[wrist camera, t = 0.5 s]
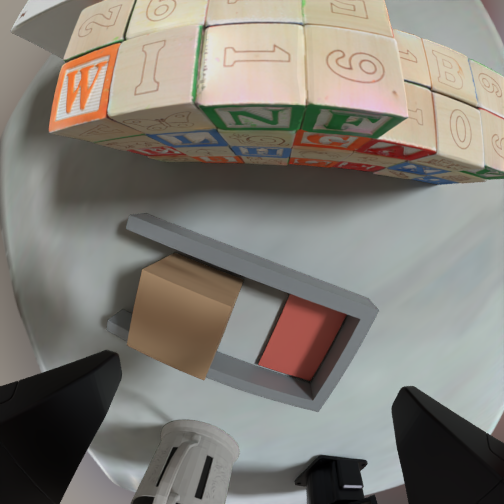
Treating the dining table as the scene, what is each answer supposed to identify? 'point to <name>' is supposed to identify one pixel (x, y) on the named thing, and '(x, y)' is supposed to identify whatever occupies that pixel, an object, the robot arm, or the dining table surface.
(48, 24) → the supplement box
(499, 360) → the dining table surface
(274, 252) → the dining table surface
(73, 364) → the robot arm
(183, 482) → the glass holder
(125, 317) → the trap channel
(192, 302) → the tan cube
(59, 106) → the stack of blocks
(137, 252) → the dining table surface
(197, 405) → the dining table surface
